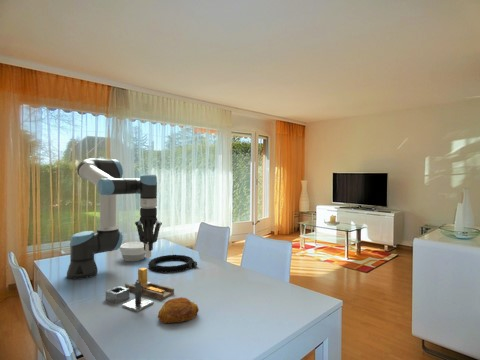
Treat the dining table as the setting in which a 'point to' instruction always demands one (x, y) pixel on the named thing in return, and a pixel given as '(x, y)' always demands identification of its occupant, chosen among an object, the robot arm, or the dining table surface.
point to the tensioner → (144, 284)
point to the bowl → (132, 251)
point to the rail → (154, 294)
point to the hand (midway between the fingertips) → (148, 257)
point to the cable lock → (182, 267)
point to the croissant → (178, 310)
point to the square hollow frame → (117, 294)
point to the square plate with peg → (138, 300)
